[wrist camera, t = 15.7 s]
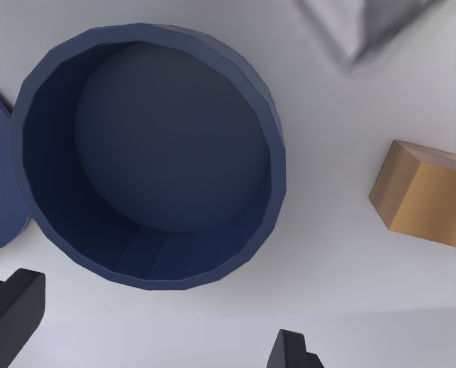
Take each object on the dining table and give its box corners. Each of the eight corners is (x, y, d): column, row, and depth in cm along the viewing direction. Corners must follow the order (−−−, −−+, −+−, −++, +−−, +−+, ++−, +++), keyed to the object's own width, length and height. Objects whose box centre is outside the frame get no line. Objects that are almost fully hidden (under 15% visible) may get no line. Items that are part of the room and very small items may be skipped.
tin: (62, 210, 29) (10, 256, 23) (73, -1, 23) (6, -12, 17) (249, 257, 29) (245, 315, 23) (310, 60, 23) (327, 70, 17)
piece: (368, 198, 26) (388, 230, 22) (394, 139, 24) (421, 161, 20) (429, 213, 26) (461, 248, 22) (459, 155, 24) (500, 181, 20)
